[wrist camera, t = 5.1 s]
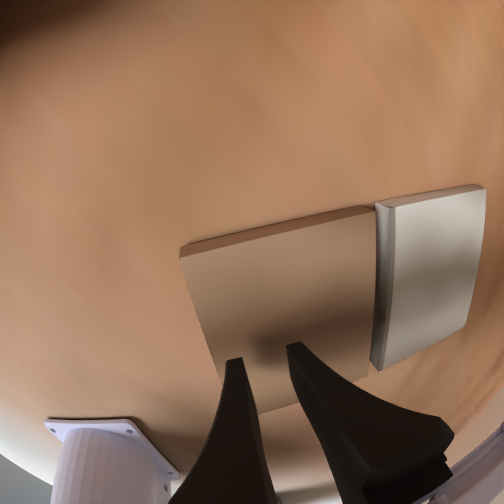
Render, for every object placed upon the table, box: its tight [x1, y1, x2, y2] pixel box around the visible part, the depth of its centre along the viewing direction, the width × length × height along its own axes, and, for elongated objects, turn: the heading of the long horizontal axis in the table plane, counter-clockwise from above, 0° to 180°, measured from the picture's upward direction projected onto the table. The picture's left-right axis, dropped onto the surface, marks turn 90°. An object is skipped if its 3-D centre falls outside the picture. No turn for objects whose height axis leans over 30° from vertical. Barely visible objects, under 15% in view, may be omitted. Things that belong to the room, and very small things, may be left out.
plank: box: [179, 205, 376, 414], centre depth 13 cm, size 10×8×1 cm
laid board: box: [369, 184, 487, 372], centre depth 14 cm, size 10×8×1 cm
